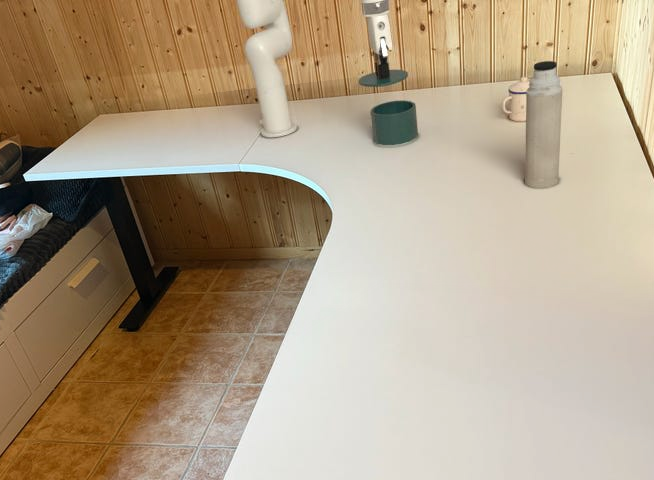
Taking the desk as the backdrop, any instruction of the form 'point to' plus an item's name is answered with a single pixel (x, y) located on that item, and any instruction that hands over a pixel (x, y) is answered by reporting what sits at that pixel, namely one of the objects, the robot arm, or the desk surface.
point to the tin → (394, 122)
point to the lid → (374, 81)
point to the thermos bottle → (543, 126)
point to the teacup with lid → (517, 100)
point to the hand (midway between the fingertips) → (383, 76)
